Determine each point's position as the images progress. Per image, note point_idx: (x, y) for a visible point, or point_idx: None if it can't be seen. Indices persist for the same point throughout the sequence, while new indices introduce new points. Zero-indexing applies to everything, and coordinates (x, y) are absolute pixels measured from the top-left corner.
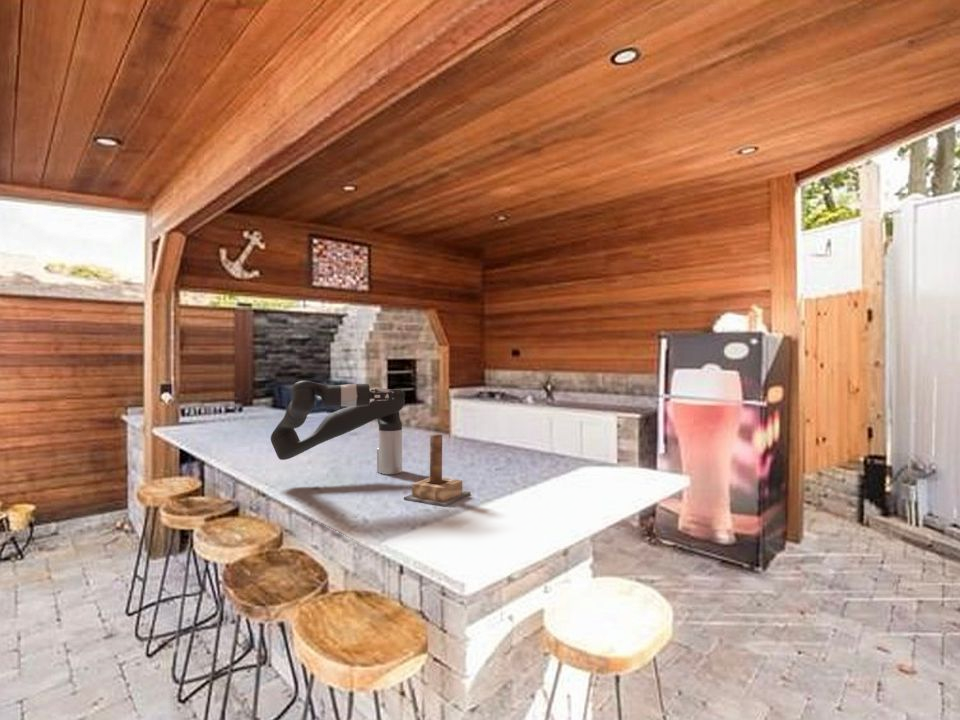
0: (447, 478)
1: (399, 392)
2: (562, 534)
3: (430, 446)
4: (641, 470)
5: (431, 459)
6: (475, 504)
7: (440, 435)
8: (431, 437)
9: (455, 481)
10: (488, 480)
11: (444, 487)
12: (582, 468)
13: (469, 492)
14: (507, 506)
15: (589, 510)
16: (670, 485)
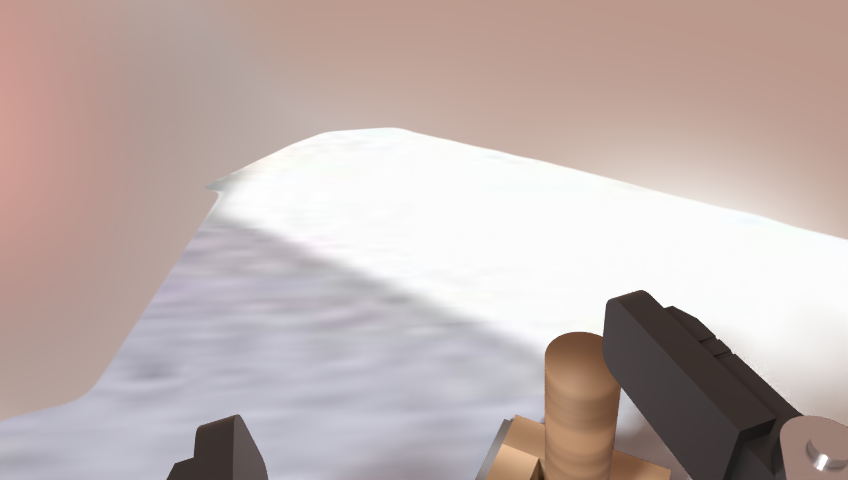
0: (491, 474)
1: (696, 348)
2: (786, 232)
3: (604, 429)
4: (286, 151)
5: (608, 467)
6: None
7: (591, 337)
8: (617, 385)
9: (539, 436)
10: (306, 387)
11: (652, 466)
12: (234, 213)
13: (510, 421)
14: None
15: (592, 204)
16: (401, 132)
